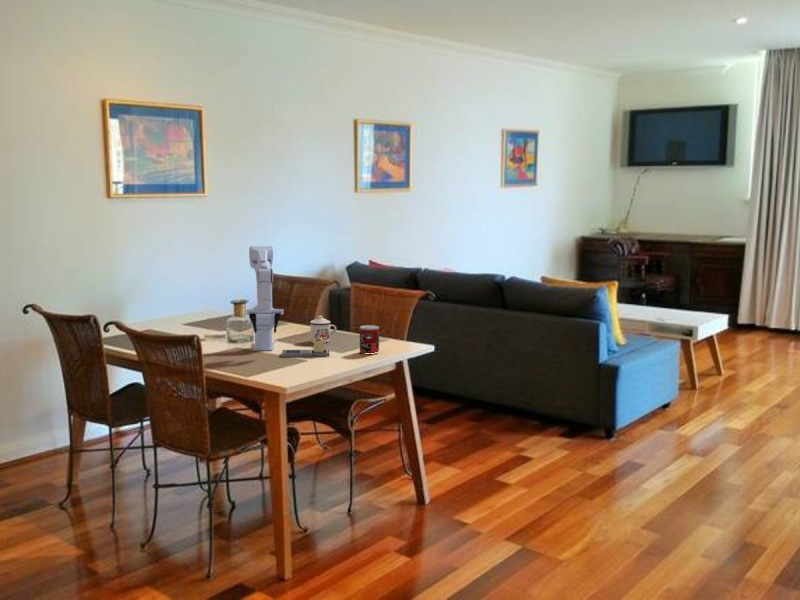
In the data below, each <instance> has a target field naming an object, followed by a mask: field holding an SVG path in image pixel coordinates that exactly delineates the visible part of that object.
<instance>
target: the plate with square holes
mask: <svg viewBox="0 0 800 600" xmlns="http://www.w3.org/2000/svg"><path fill="white" fill-rule="evenodd" d="M320 356H329V357H330V349H328V348H326V349H324V353H314V349H313V348H312V349H283V350H281V358H321V357H320Z"/></svg>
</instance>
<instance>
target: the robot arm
mask: <svg viewBox="0 0 800 600" xmlns="http://www.w3.org/2000/svg"><path fill="white" fill-rule="evenodd" d="M248 253H249V254H248V256H249V257H248V259H249V265H250V267H251V269H254V271H255V280H256V299H257V300H256V302H257V304H256V305H255V306H254V307H252V308H250V309H246V314H245V315H246V316H247V315H248V317H249V319H250V323H251V327H252V328H253V331H254V347H253V350H252V351H273V350H274V347H275V344H273V333H277V327H278V325H279V324H278V323H279V321H280V318H281V316H282V315H284V309H283V308H274V307H273V282H274V270H273V268H272V266H273V260H274V249H273V246H271V245H270V246H269V245H267V246H264V245H263V246H259V245H258V246H252V245H250V246H249V248H248Z"/></svg>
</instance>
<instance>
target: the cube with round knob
mask: <svg viewBox="0 0 800 600" xmlns="http://www.w3.org/2000/svg"><path fill="white" fill-rule="evenodd" d="M313 350H314V353H324V350H325V343H324V339H322V338H316V339H314V343H313Z"/></svg>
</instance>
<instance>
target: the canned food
mask: <svg viewBox="0 0 800 600" xmlns="http://www.w3.org/2000/svg"><path fill="white" fill-rule="evenodd" d="M378 351H380V327H379V325H375V324H373V325H371V324H370V325H369V324H368V325H361V326H360V327H359V353H360V352H361V353H375V352H378ZM361 353H360V354H361ZM378 353H379V352H378Z"/></svg>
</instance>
